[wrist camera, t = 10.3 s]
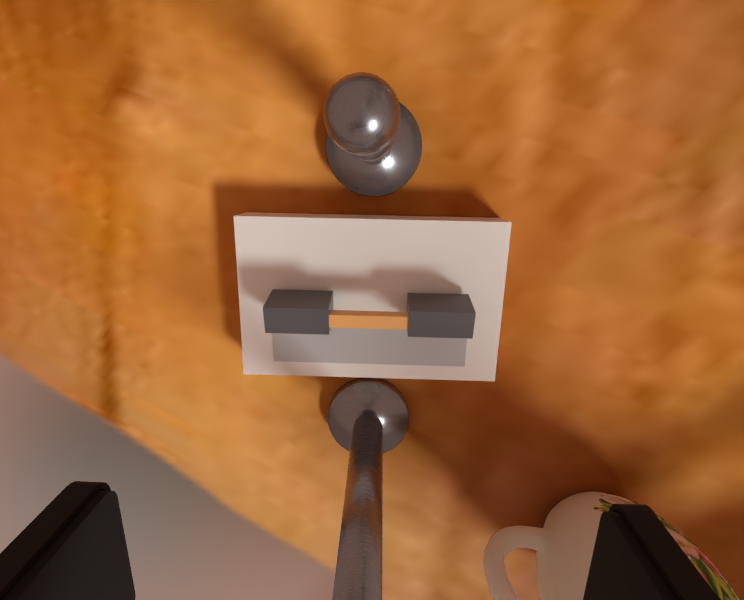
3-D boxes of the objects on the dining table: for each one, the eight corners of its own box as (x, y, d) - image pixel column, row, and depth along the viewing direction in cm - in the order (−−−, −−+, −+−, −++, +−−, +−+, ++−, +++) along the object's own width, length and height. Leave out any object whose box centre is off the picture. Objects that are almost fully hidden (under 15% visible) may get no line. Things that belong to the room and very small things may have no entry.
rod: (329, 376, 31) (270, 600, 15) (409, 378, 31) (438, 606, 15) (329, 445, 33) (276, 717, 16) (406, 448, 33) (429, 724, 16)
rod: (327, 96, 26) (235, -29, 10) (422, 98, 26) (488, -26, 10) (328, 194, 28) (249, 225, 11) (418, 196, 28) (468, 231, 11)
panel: (246, 212, 28) (232, 215, 26) (500, 217, 28) (511, 222, 25) (254, 358, 31) (243, 374, 28) (485, 364, 31) (495, 381, 28)
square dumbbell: (272, 289, 26) (262, 307, 24) (468, 294, 26) (475, 313, 24) (274, 313, 27) (265, 332, 25) (465, 318, 27) (472, 338, 25)
